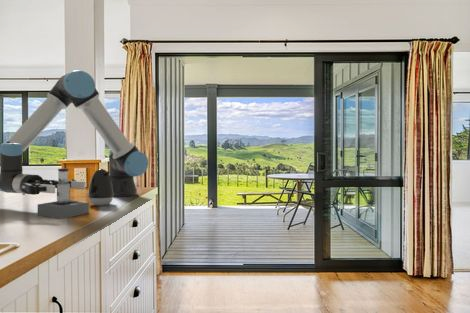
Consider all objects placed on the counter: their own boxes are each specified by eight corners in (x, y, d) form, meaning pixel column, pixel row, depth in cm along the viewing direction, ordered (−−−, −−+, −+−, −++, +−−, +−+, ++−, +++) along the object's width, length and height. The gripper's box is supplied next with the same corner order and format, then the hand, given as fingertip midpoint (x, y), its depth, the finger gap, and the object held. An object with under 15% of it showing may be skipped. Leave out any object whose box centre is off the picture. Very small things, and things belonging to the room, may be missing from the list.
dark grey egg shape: (97, 207, 150) (97, 170, 150) (83, 205, 157) (83, 168, 156) (119, 204, 159) (119, 168, 158) (104, 202, 165) (104, 167, 164)
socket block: (65, 210, 144) (65, 199, 144) (88, 212, 139) (88, 202, 139) (37, 215, 133) (37, 204, 133) (62, 218, 128) (62, 207, 128)
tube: (64, 212, 139) (63, 168, 139) (72, 213, 137) (72, 168, 137) (54, 214, 135) (53, 168, 135) (63, 215, 133) (62, 169, 133)
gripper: (56, 190, 155) (95, 193, 146) (-3, 198, 132) (40, 202, 123) (56, 172, 154) (95, 174, 146) (-4, 177, 132) (39, 179, 123)
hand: (70, 187), depth 135 cm, fingers open, 13 cm apart
